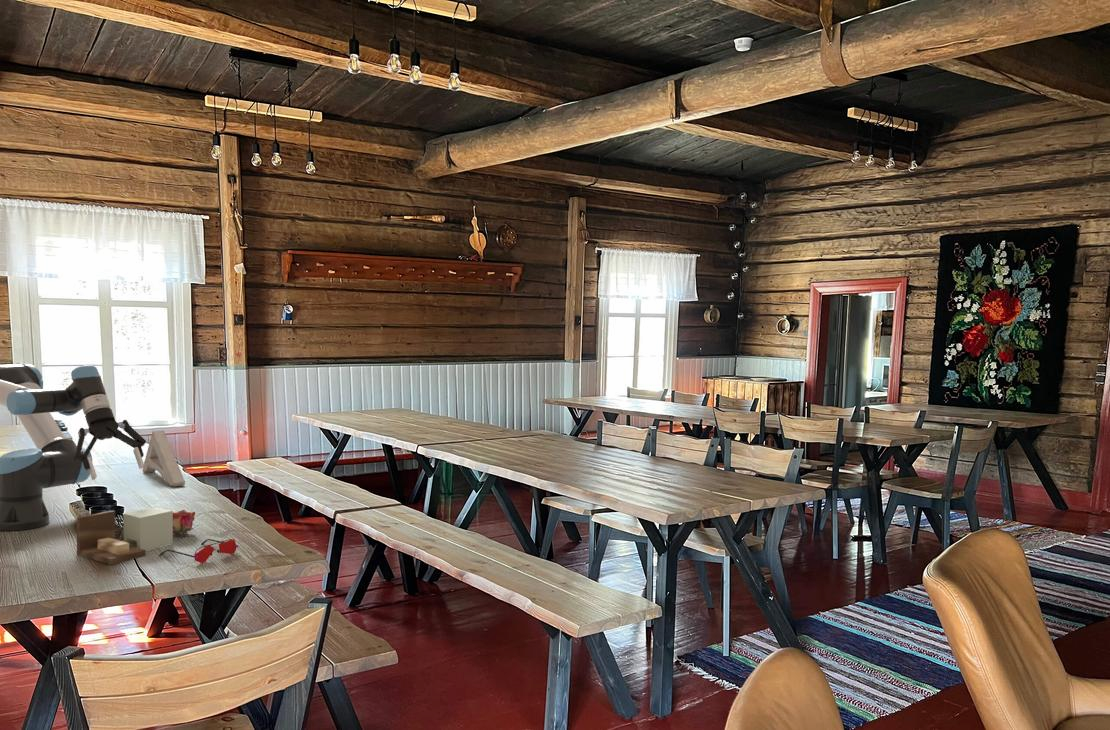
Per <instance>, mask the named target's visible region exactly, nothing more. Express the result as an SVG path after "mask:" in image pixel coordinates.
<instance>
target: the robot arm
mask: <svg viewBox="0 0 1110 730" xmlns="http://www.w3.org/2000/svg"><path fill="white" fill-rule="evenodd" d="M98 370H99V369H98V368H97V367H96V366H94V365H92V364H88V365H87V364H84V365H80V366H77V367H76V368H74V369H73V370H72V371H71V372H70V376H71V380H72V382H71V384H70V385H68V386H67V387H57V388H44V380H43V376H42V374H41V371H40V369H38V367H36V366H35V365H33V364H30V363H20V362H18V363H14V364H13V363H11V364H10V363H8V364H4V363H2V364H0V405H1V406H4V407H6V408H7V410H8V411H9V412H10V414H12V415H13V416H17V417H18V419H19V420H20V422H21V424H22V426H23V427H24V429H25V430H26V432H27V435H29V437H30V438H31V441H32V442H33V444H34V446H35V447H36V448H26V449H19V450H18V449H17V450H13V451H10V452H7V453H4V454H2V455H1V456H0V531H1V532H3V531H4V532H6V531H7V532H10V531H23V530H24V531H25V530H30V529H31V530H32V529H36V528H40V527H43V526H46V525H47V524H49V523H50V515H49V511H48V509H47V507H46V504H45V501H44V499H43V489H49V488H55V487H60V486H61V487H62V486H67V485H75V484H79V483H80V484H81V483H83V482H86V481H87V480H88V479H89V478H91V480H92V481H94V480H96V478H97V472H96V469H95V466H94V463H93V456H92V453H91V451H92V449H93V448H94V446H95V443H96V442H97V441H98V440H100V441H104V440H110V439H113V438H115V439H116V440H119V441H121V442H123V443H124V444H126V445H128V446H129V447H132V448H133V450H132V451H133V454H134V458H135V460H136V463H137V465H138V469H139V470H141V469H143V466H144V461H143V457H144V450H143V449H142V447H144V446H145V444H146V443H147V440H146V439H145V438H144V437H143V436H141V435H140V434H139V433H138V432H137V430H136V429H134V428H133V427H132V426H131V425H130V424H129V421H128V420H127V419H123V421H121V422H117V421H116V418H115V415H114V413H113V409H112V408H111V404H110V401H109V399H108V395H107V392H106V390H105V386H104V383H103V380H102V378H101V377H102V376H101V375H100V373H99V371H98ZM81 410H82V412H83V414H84V417H85V421H86V424H87V426H88V427H87V428H83V427H80V428H79V430H78V432H77V434H78V439H77V440H78V441H77V444H76V443H75V441H74V440H73V439H70V438H66V436H65V435H64V433H63V431H62V430H61V428H60V427H59V425H58V424H57V422H56V420H55V418H54V417H53V415H52V413H59V414H60V415H63V416H67V417H69V416H74V415H75V414H77V413H79V412H80V411H81ZM118 428H121V429H122V430H123V431H124V432H126V434H125V433H123V432H122V431H121V430H119V429H118ZM88 434H90V436H91V435H92V436H93V437H92V439H91V440H90V442H89V444H88V445H87V447H86V446H85V447H84V446H83V445H84V442H85V441H84V440H85V438H86V436H87V435H88ZM128 435H129V436H128Z"/></svg>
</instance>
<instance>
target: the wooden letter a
mask: <svg viewBox="0 0 1110 730" xmlns="http://www.w3.org/2000/svg"><path fill="white" fill-rule="evenodd" d="M143 463H144V466H143V468H142V474H151V473H150V472H154V473H156V471H157V472H158V473H159V475H160V476H161V477H162V478H163V480H164V482H165V484H166V485H167V484H169V485H170V486H169V485H168V486H169V487H180V486H185V484H186V480H185V478H184V476H183V473H182V471H181V468H180V466H179V464H178V462H177V459H176V457H175V454H174V452H173V450H172V447H171V445H170V442H169V440H168V437H167V435H166V432H165V430H155V431H152V433H151V436H150V439H149V443H148V448H147V451H146V454H145V459H144V461H143Z"/></svg>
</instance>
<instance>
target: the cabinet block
mask: <svg viewBox="0 0 1110 730" xmlns="http://www.w3.org/2000/svg"><path fill="white" fill-rule="evenodd" d="M173 513H174V512H173V510H170V509H167V508H163V507H162V508H161V507H157V506H155V507H149V508H144V509H140V510H135V511H129V512H126V513H123V542H127V543H129V546H132V547H136V548H139V549H143V550H146V552H148V551H150V550H155V549H158V548H159V549H160V548H162V546H163V547H166V545H167V546H170V545H169V544H171V545H173V539H174V537H173V535H174V534H173Z"/></svg>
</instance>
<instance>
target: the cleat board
mask: <svg viewBox="0 0 1110 730" xmlns="http://www.w3.org/2000/svg"><path fill="white" fill-rule="evenodd" d="M146 552H147V551H146V550H143V549H139V548H137V546H135V547H132V546H129V543H127V542H124V540H123V541H122V540H119V539H116V510H107V511H103V512H97V513H93V514H87V515H82V516H77V517H76V555H77V556H81V557H84V558H87V559H90V560H95V561H98V562H100V563H104V564H107V565H114V564H119V563H122V562H126V561H130V560H134V559H136V558H141V557H145V556H146Z"/></svg>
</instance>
